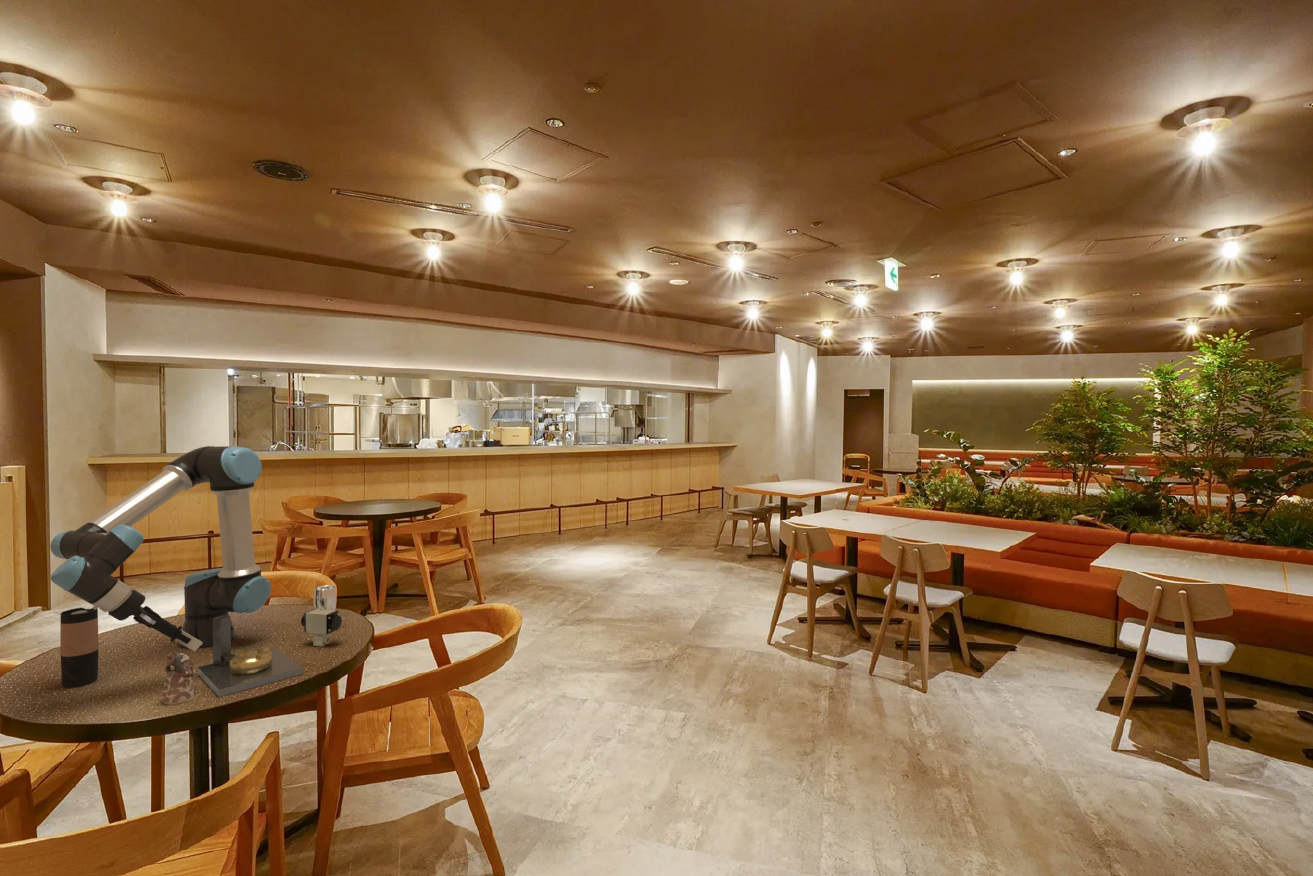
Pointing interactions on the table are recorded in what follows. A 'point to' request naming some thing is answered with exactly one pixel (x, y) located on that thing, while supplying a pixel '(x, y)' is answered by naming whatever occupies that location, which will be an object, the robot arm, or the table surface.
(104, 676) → the table surface
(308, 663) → the table surface
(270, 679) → the base plate
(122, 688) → the table surface
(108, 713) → the table surface
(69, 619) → the travel mug
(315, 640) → the pneumatic valve
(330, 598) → the beer glass
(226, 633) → the metal fixture
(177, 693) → the figurine
